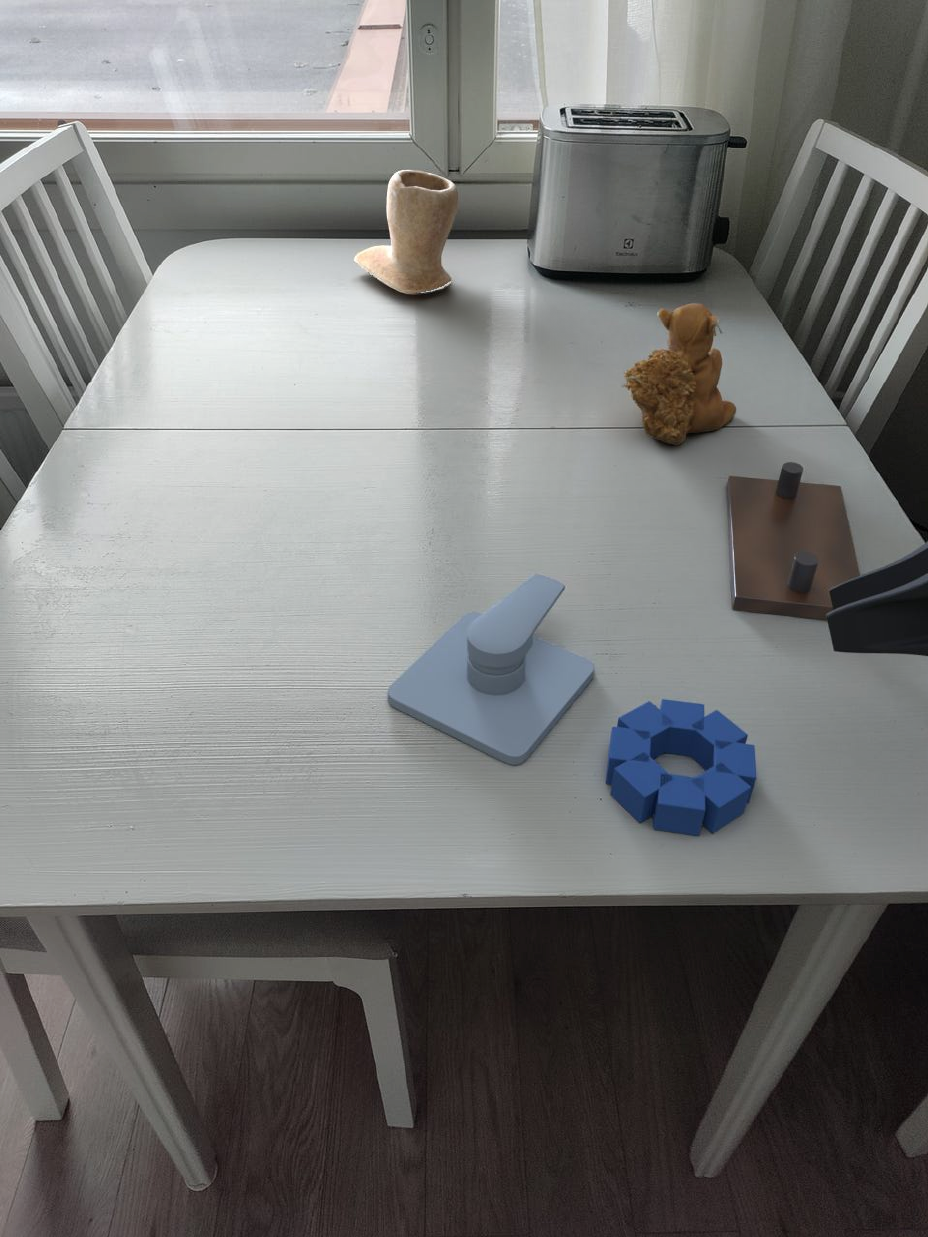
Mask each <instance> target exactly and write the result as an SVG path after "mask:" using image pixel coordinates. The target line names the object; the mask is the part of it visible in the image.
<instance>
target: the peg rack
mask: <svg viewBox="0 0 928 1237" xmlns="http://www.w3.org/2000/svg"><path fill="white" fill-rule="evenodd" d="M803 472H804V467H803V465H801V464H800V463H798V462H793V461H787V462H784V463H783V464H782V466H781V469H780V473H779V477H778V479H771V478H760V477H748V476H739V475H738V476H737V475H728V478H727V482H726V487H725V489H726V490H725V492H726V509H727V510H726V511H727V529H728V532H727V534H728V549H729V552H728V553H729V569H730V570H729V572H730V589H731V607H732V608H731V610H734V611H735V610H736V611H742V612H743V611H744V612H750V613H759V614H770V615H779V616H785V617H794V618H795V617H796V618H805V619H813V620H821V621H822V620H823V621H827V618H826V614H827V613H829V612H831V611H833V606H832V602H831V597H830V593H829V589H830V588H832V587H834V586H836V585H838V584H840V583H843V582H845V581H847V580H850V579H852V578H855V577H858V576H860V575H861V573H860V568H859V562H858V558H857V554H856V550H855V545H854V541H853V536H852V531H851V526H850V523H849V518H848V513H847V509H846V504H845V499H844V495H843V490H842V486H841V485H836V484H827V483H826V484H825V483H813V482H805V481H804V482H803V481H802V482H801V480H802V476H803Z"/></svg>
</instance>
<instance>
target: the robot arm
mask: <svg viewBox="0 0 928 1237" xmlns="http://www.w3.org/2000/svg"><path fill="white" fill-rule="evenodd" d="M829 593H830V597H831V602H832V606H833V611H831V612H829V613H827V614H826V618H827V620H826V622H827V626H828V632H829V635H830V640H831V644H832V648H833V651H834V652H835V653H836V652H839V653H846V654H847V653H850V654H887V655H888V654H890V655H891V654H892V655H893V654H895V655H911V656H922V657H928V541H926V542H925V543H923V544H922V545H921V546H919V547H918V548H917V549H914V550H913V551H911V552H909V553H907V555H905V556H903V557H901V558H899V559H897V560H895V561H893V562H891V563H888V564H886V565H883V566H882V567H878V568H876V569H873V570H871V571H869V572H865V573H864V574H860V576H858V577H855V578H852V579H850V580H847V581H845V582H843V583H840V584H838V585H836V586H834V587H832V588H830V589H829Z"/></svg>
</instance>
